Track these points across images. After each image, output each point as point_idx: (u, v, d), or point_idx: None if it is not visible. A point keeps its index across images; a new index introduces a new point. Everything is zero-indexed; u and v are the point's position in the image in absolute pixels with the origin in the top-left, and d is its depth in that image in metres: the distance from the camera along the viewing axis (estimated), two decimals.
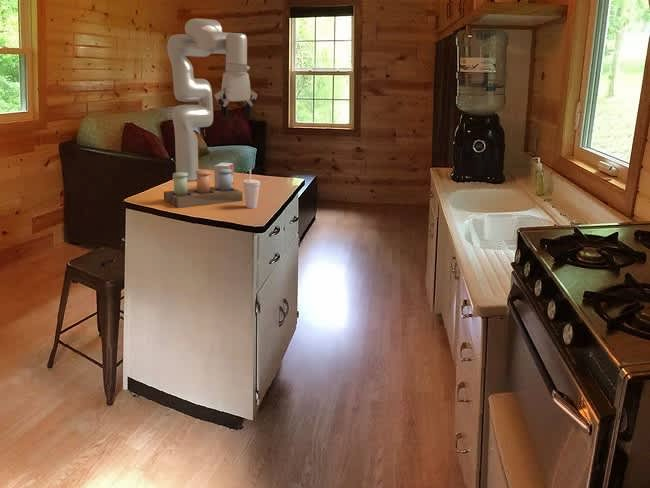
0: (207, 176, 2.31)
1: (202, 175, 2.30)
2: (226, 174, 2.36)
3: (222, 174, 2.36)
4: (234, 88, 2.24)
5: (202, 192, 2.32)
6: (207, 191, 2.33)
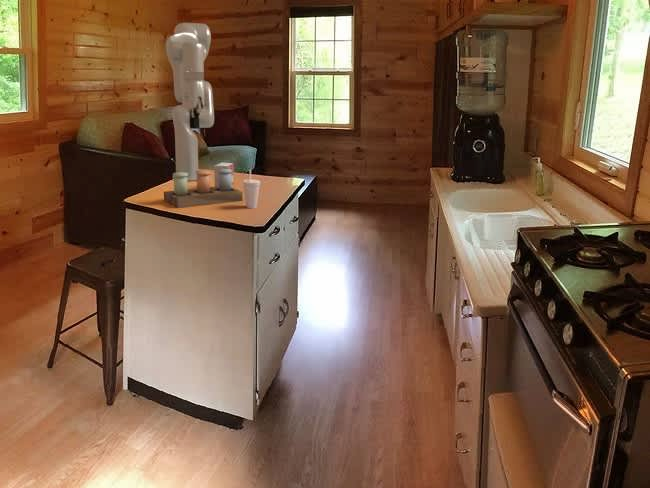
0: (207, 176, 2.31)
1: (202, 175, 2.30)
2: (226, 174, 2.36)
3: (222, 174, 2.36)
4: None
5: (202, 192, 2.32)
6: (207, 191, 2.33)
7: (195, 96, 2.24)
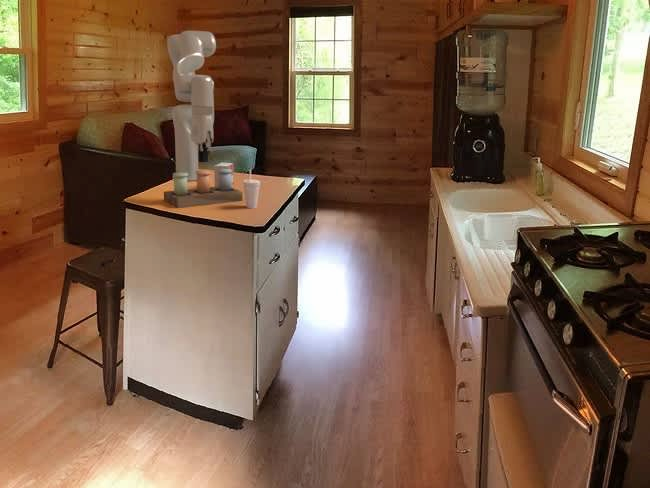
0: (207, 176, 2.31)
1: (202, 175, 2.30)
2: (226, 174, 2.36)
3: (222, 174, 2.36)
4: None
5: (202, 192, 2.32)
6: (207, 191, 2.33)
7: (204, 131, 2.23)
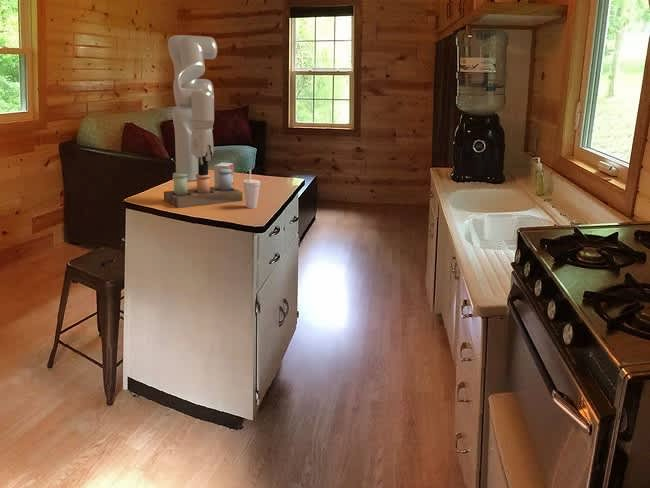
0: (207, 179, 2.32)
1: (202, 178, 2.30)
2: (226, 174, 2.36)
3: (222, 174, 2.36)
4: None
5: None
6: None
7: (204, 145, 2.24)
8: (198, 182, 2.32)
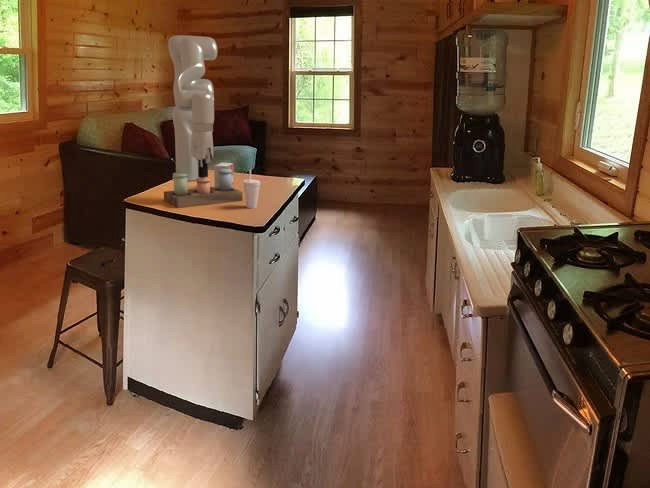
0: (207, 183, 2.32)
1: (202, 182, 2.31)
2: (226, 174, 2.36)
3: (222, 174, 2.36)
4: None
5: None
6: None
7: (204, 147, 2.25)
8: (198, 186, 2.32)
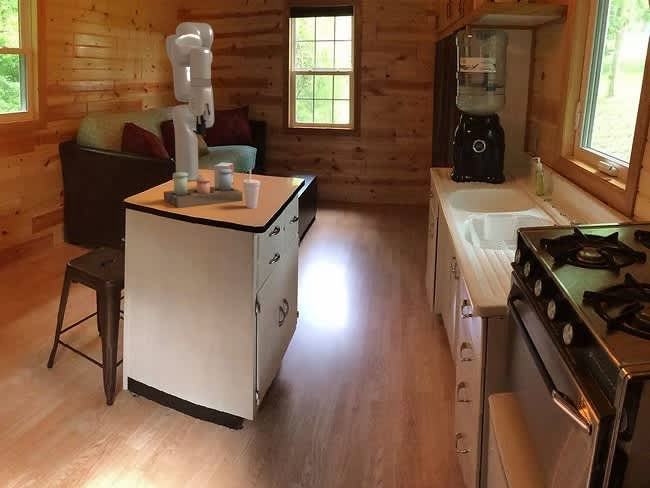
0: (207, 183, 2.32)
1: (202, 182, 2.31)
2: (226, 174, 2.36)
3: (222, 174, 2.36)
4: None
5: None
6: None
7: (202, 103, 2.23)
8: (198, 186, 2.32)
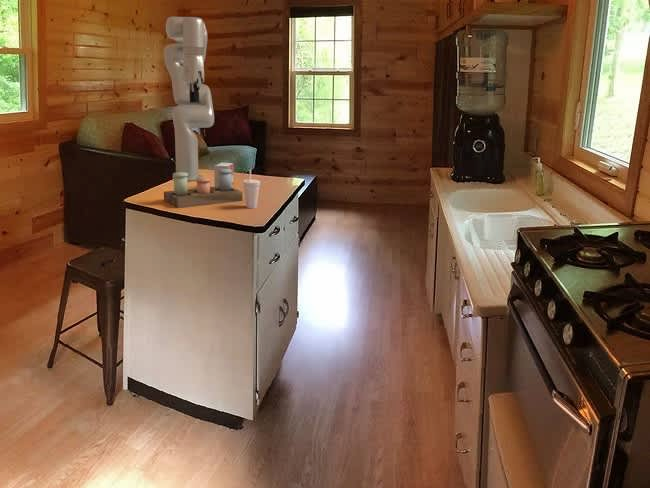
0: (207, 183, 2.32)
1: (202, 182, 2.31)
2: (226, 174, 2.36)
3: (222, 174, 2.36)
4: None
5: None
6: None
7: (195, 70, 2.31)
8: (198, 186, 2.32)
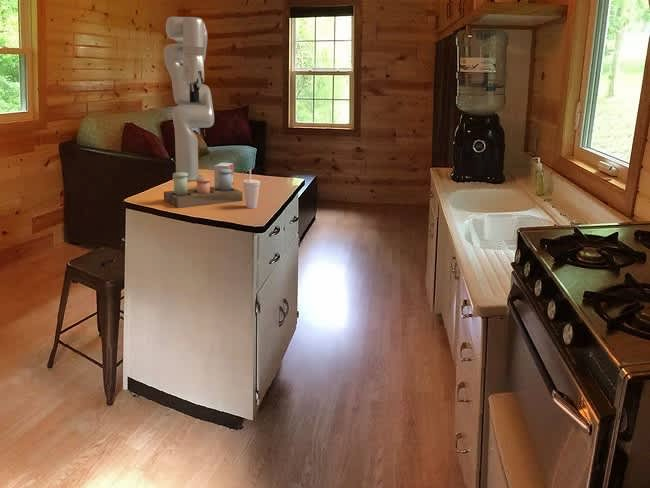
0: (207, 183, 2.32)
1: (202, 182, 2.31)
2: (226, 174, 2.36)
3: (222, 174, 2.36)
4: None
5: None
6: None
7: (195, 70, 2.31)
8: (198, 186, 2.32)
